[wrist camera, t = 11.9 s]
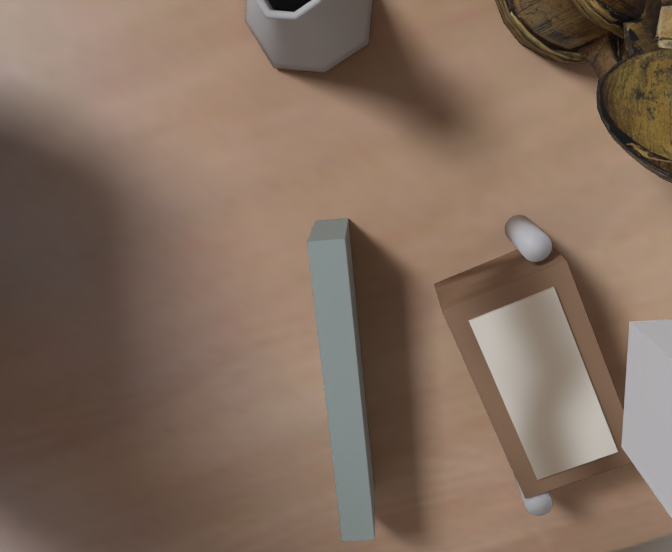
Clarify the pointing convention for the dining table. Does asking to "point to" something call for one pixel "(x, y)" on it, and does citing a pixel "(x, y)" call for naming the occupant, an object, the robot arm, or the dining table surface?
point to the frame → (536, 368)
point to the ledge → (347, 371)
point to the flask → (309, 31)
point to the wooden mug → (611, 63)
